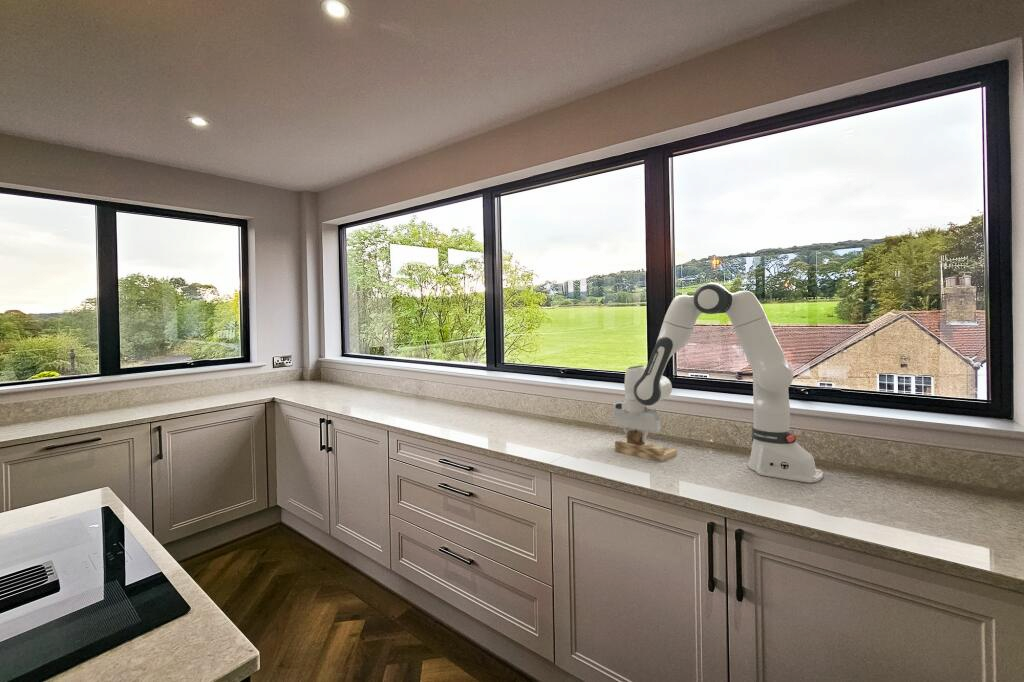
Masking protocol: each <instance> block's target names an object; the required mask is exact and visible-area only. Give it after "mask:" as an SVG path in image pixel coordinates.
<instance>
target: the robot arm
mask: <svg viewBox="0 0 1024 682" xmlns="http://www.w3.org/2000/svg"><path fill="white" fill-rule="evenodd" d="M669 304H670V305H669V306H668V309H667V310H666V314H665V315H664V318H663V322H662V324H661V328H660V331H659V334H658V336H657V339H656V343H655V345H654V348H653V350H652V352H651V355H650V357H649V360H648V362H647V364H646V366H645V365H635V366H630V367H628V368H627V369H626V370H625V373H624V383H623V384H624V392H625V394H624V400H622V401H618V402H616V403H613V405H612V406H613V410H612V414H611V415H612V416H611V418H612V419H611V421H612V423H611V424H612V425H613V426H615V427H620V428H623V432H624V433H625V438H626V439H627V432H628V431H629V430H630V429H631V430H635V429H636V430H639V431H643V434H644V435H643V436H642V437H640V441H642V442H645V443H646V441H647V440H646V439H647V438H646V437H647V436H648V435H649V433H653V434H657V433H659V432H660V431H661V429H662V427H661V419H660V418H661V413H660V411H659V410H658V409H657V408H651V407H650V406H653V405H655V404H656V403H658V402H659V401H662V400H664V399H666V398H668V397H669V396H670V395H671V393H672V390H673V385H672V381H671V380H670V379H669V377H667V376H665V375H663V374H664V372H665V369H666V367H667V364H668V362H669V360H670V359H671V357H672V356H673V355H674V354H676V353H677V352H678V351H680V350H681V349H682V348H684V347H685V346H686V345H687V343H688V342H689V340H690V338H691V336H692V333H693V331H694V329H695V325H696V322H697V320H698V318H699V317H700V316H701V314H705V315H715V314H725V315H727V317H728V318H729V320H730V323H731V325H732V327H733V330H734V333H735V335H736V337H737V339H738V341H739V343H740V346H741V349H742V350H743V352H744V355H745V357H746V359H747V362H748V364H749V366H750V368H751V371H752V389H753V391H752V393H753V426H752V427H751V434H750V435H751V443H752V444H751V451H750V457H749V461H748V463H747V467H748V468H749V469H750V470H752V471H754V472H756V474H758V475H760V476H763V477H764V476H765V477H771V478H776V479H783V480H790V481H796V482H800V483H801V482H802V483H811V484H812V483H817V482H819V481H821V480H822V479H823V478H824V473H823V471H822V470H821V469H819V468H817V467H816V463H815V459H814V456H813V455H812V453H810V452H809V451H807V450H806V449H805V448H803V446H801V445H800V444H799V443H798V442H797V432H793V431H792V430H791V429H790V423H791V420H790V419H791V418H790V417H791V414H790V413H791V407H790V395H789V388H790V386H791V385H792V384H793V383H792V382H793V380H794V373H793V369H792V367H791V366H790V363H789V361H788V359H787V357H786V355H785V353H784V350H783V349H782V347H781V344H780V342H779V340H778V339H777V337H776V334H775V332H774V330H773V327H772V325H771V322H770V321H769V318H768V316H767V314H766V311H765V309H764V308H763V306H762V304H761V302H760V301H759V299H758V298H757V297H756V295H755V294H754V293H753V292H752V291H750V290H739V291H736V292H730V291H729V289H728V288H727V287H726V286H725V285H723V284H721V283H718V282H708V283H703V284H702V285H700V286H699V287H698V288H697V289H696V290H695V292H694V294H693V295H688V294H679V295H676V296H675V297H674V298H673V299H672V300H671V303H669Z"/></svg>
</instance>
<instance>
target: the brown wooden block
mask: <svg viewBox="0 0 1024 682" xmlns="http://www.w3.org/2000/svg"><path fill="white" fill-rule="evenodd" d="M643 435H644V434H643V431H641V430H636V429H631V430H628V432H627V438H626V442H627V443H630V444H635V445H643V444H645V443H646V441H645V442H642V441H640V437H642V436H643Z"/></svg>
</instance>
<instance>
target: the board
mask: <svg viewBox="0 0 1024 682" xmlns="http://www.w3.org/2000/svg"><path fill="white" fill-rule="evenodd" d="M614 452H617V453H622V454H624V455H629V456H633V457H638V458H642V459H647V460H651V461H656V462H660V463H662V462H665V461H667V460H669V459H671V458H674V457H675V456H677V455H678V449H676V448H675V449H674V448H671V447H665V446H660V445H656V444H651V443H646V442H645V444H643V445H635V444H630V443H627V441H621V440H616V441H614Z"/></svg>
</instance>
